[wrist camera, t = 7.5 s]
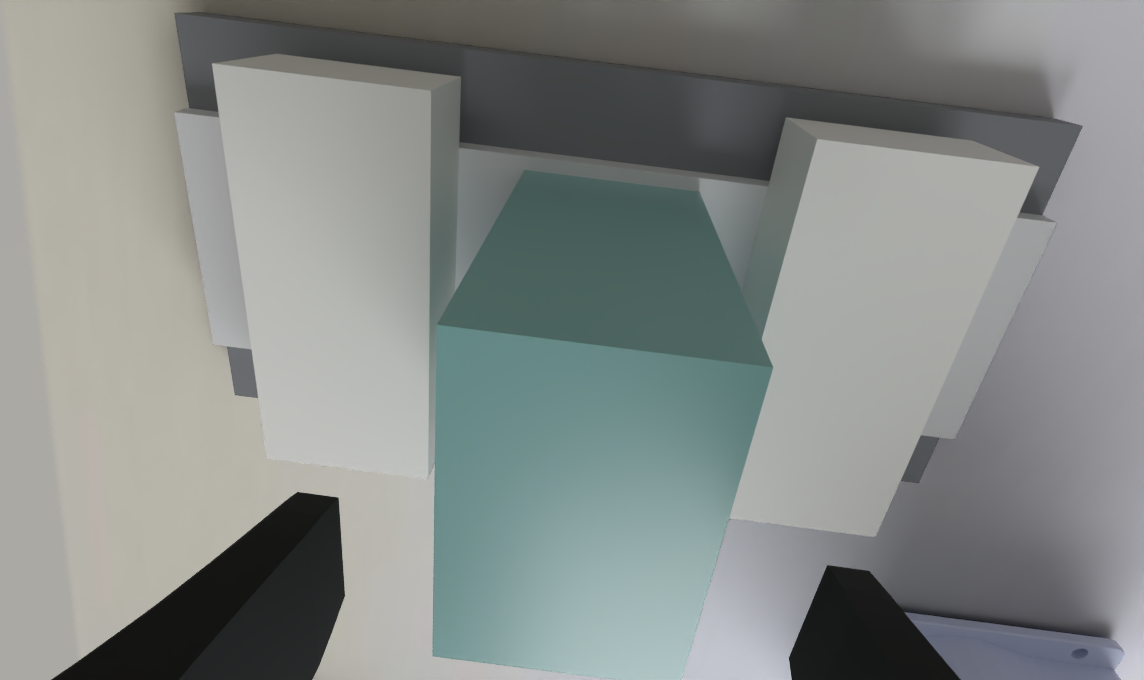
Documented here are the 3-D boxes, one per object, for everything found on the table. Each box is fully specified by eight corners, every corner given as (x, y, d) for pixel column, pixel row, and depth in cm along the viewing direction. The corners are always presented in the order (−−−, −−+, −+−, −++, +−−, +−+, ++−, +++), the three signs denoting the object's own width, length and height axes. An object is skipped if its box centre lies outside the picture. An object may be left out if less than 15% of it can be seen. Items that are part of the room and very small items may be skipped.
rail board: (1055, 118, 15) (1194, 155, 11) (905, 461, 20) (969, 565, 16) (200, 12, 15) (67, 15, 12) (252, 377, 20) (169, 461, 16)
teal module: (699, 191, 15) (773, 367, 8) (655, 410, 18) (679, 688, 10) (524, 170, 15) (436, 324, 8) (507, 392, 18) (432, 656, 10)
